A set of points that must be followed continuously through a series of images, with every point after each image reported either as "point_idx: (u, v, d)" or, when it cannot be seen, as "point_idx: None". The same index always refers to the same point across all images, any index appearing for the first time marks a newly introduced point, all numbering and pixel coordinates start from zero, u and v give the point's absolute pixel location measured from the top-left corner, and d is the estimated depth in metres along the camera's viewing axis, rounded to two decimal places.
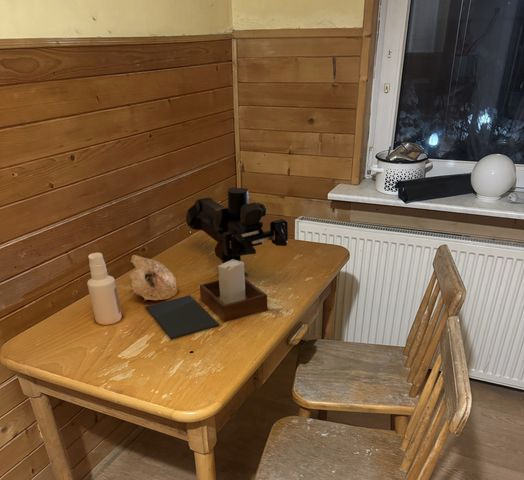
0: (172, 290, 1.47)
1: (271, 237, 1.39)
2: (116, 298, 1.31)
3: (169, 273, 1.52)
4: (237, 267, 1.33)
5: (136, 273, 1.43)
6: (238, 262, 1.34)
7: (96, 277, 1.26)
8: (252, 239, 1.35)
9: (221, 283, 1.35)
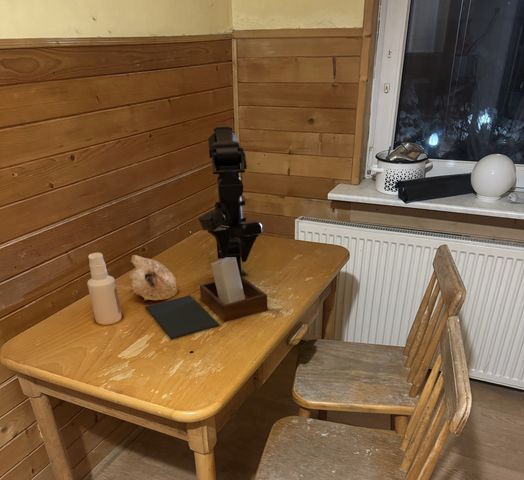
0: (172, 290, 1.47)
1: None
2: (116, 298, 1.31)
3: (169, 273, 1.52)
4: (229, 261, 1.34)
5: (136, 273, 1.43)
6: (230, 258, 1.36)
7: (96, 277, 1.26)
8: (229, 228, 1.30)
9: (217, 281, 1.36)
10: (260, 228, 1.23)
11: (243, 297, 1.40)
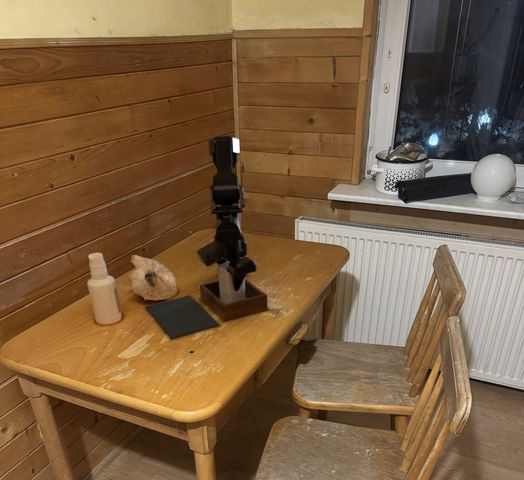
0: (172, 290, 1.47)
1: None
2: (116, 298, 1.31)
3: (169, 273, 1.52)
4: None
5: (136, 273, 1.43)
6: None
7: (96, 277, 1.26)
8: None
9: (221, 283, 1.35)
10: (254, 267, 1.27)
11: None
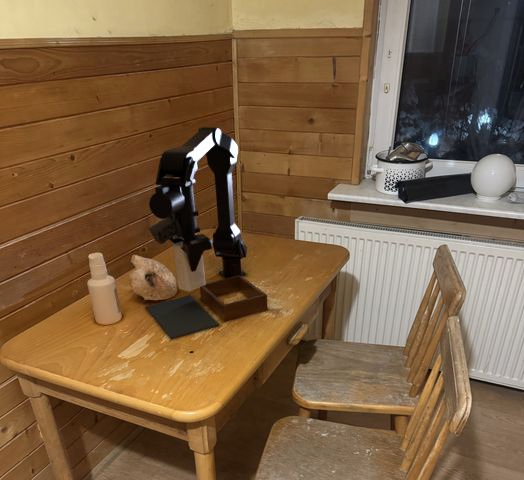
0: (172, 290, 1.47)
1: None
2: (116, 298, 1.31)
3: (169, 273, 1.52)
4: None
5: (136, 273, 1.43)
6: None
7: (96, 277, 1.26)
8: None
9: (177, 264, 1.27)
10: (210, 244, 1.18)
11: (204, 283, 1.31)
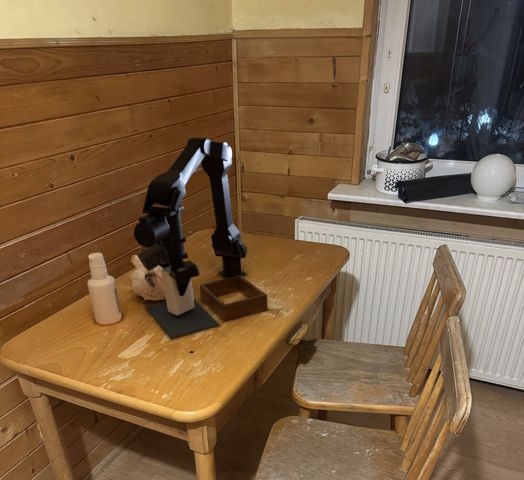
0: None
1: None
2: (116, 298, 1.31)
3: None
4: None
5: (136, 273, 1.43)
6: None
7: (96, 277, 1.26)
8: None
9: (166, 288, 1.29)
10: (196, 271, 1.20)
11: (193, 306, 1.34)
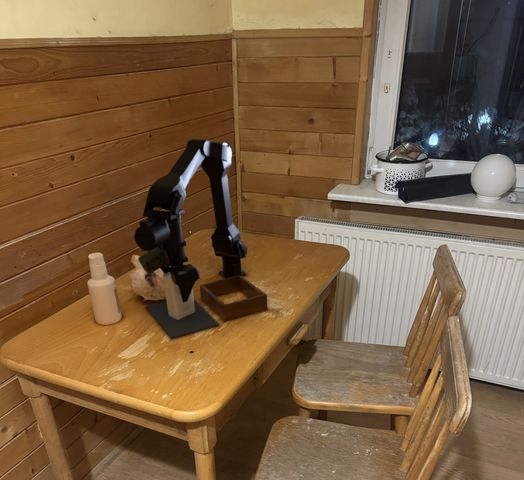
0: None
1: None
2: (116, 298, 1.31)
3: None
4: None
5: (136, 273, 1.43)
6: None
7: (96, 277, 1.26)
8: None
9: (167, 293, 1.29)
10: (197, 274, 1.21)
11: (193, 311, 1.34)
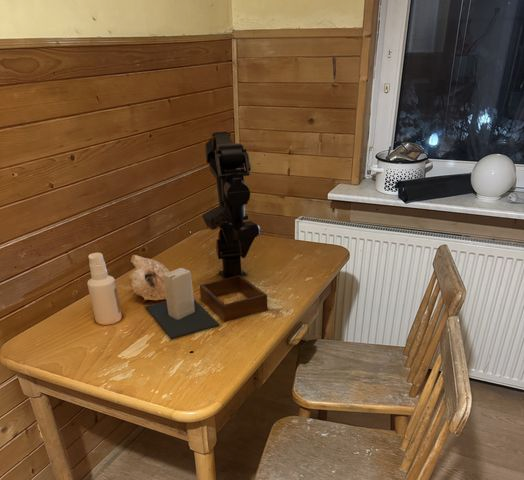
0: None
1: None
2: (116, 298, 1.31)
3: None
4: (183, 276, 1.27)
5: (136, 273, 1.43)
6: (184, 271, 1.28)
7: (96, 277, 1.26)
8: None
9: (167, 293, 1.29)
10: (257, 230, 1.30)
11: (193, 311, 1.34)
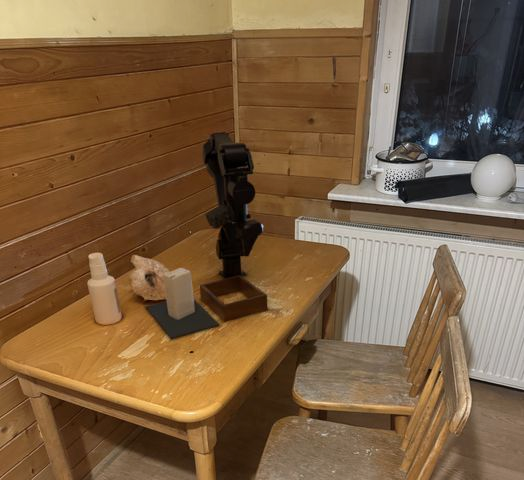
0: None
1: None
2: (116, 298, 1.31)
3: None
4: (183, 276, 1.27)
5: (136, 273, 1.43)
6: (184, 271, 1.28)
7: (96, 277, 1.26)
8: None
9: (167, 293, 1.29)
10: (261, 228, 1.31)
11: (193, 311, 1.34)
